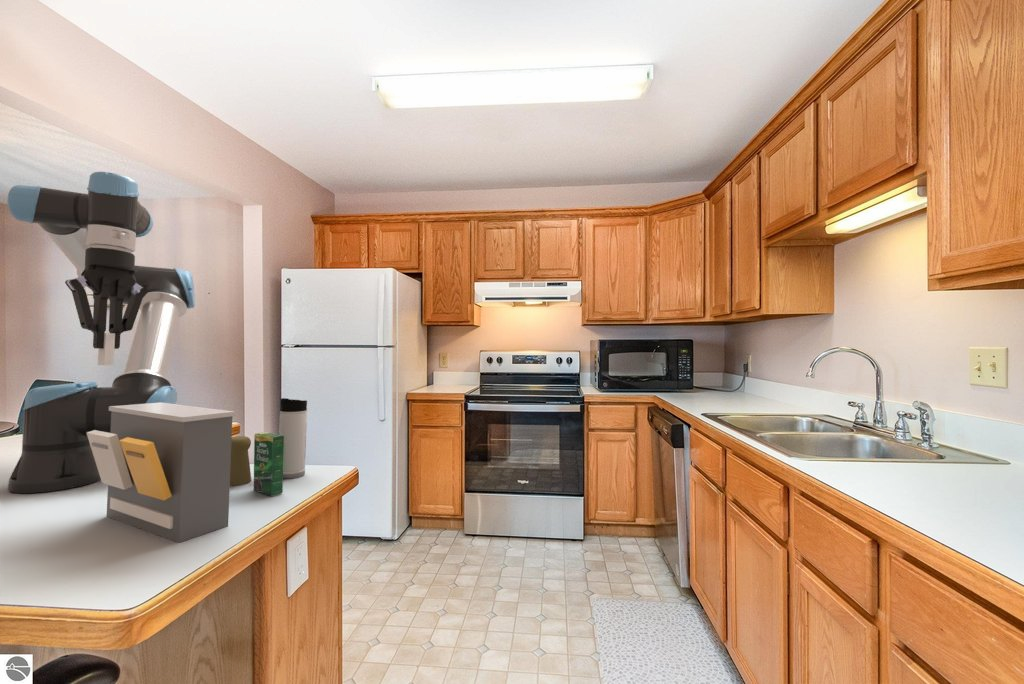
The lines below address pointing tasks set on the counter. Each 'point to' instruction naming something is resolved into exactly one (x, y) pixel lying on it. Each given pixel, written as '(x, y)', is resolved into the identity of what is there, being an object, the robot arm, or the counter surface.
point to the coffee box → (268, 463)
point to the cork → (240, 461)
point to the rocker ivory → (109, 459)
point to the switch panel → (177, 469)
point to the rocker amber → (145, 468)
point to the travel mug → (293, 436)
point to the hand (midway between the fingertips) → (105, 364)
